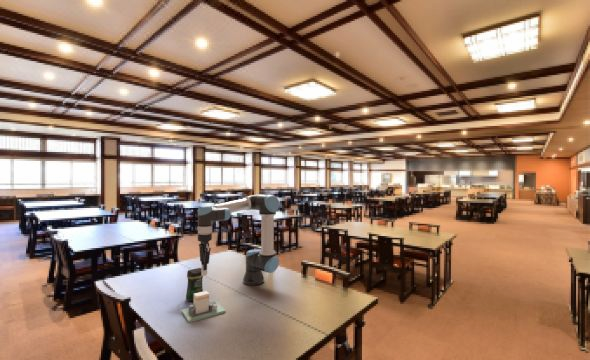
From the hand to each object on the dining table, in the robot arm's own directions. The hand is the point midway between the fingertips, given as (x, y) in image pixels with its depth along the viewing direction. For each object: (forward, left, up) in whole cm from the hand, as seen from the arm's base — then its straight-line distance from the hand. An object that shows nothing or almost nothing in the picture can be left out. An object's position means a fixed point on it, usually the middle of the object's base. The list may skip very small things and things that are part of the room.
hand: (204, 275), depth 153 cm
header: (+2, +2, -19) cm, 19 cm away
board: (0, +1, -21) cm, 21 cm away
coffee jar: (-1, -19, -21) cm, 28 cm away
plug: (+2, +2, -19) cm, 19 cm away
